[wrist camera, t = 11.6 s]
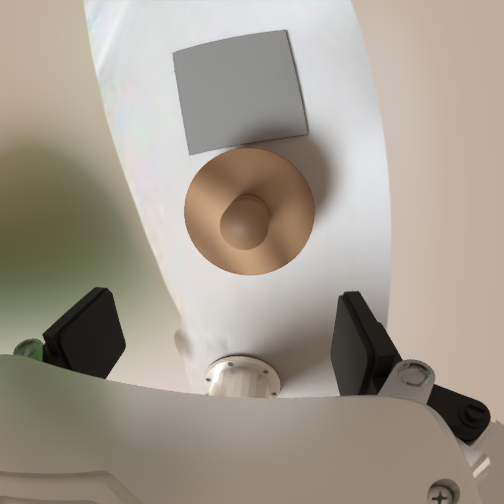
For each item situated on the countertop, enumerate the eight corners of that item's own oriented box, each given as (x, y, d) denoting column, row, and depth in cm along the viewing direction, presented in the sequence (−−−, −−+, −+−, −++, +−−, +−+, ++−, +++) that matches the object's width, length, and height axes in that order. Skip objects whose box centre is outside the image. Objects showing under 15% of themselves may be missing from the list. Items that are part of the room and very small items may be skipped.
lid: (250, 292, 32) (246, 323, 26) (164, 214, 29) (140, 228, 23) (337, 212, 28) (354, 227, 22) (247, 122, 26) (241, 112, 20)
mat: (307, 134, 30) (307, 134, 30) (190, 155, 32) (189, 155, 31) (284, 31, 26) (285, 30, 25) (173, 54, 27) (172, 53, 27)
